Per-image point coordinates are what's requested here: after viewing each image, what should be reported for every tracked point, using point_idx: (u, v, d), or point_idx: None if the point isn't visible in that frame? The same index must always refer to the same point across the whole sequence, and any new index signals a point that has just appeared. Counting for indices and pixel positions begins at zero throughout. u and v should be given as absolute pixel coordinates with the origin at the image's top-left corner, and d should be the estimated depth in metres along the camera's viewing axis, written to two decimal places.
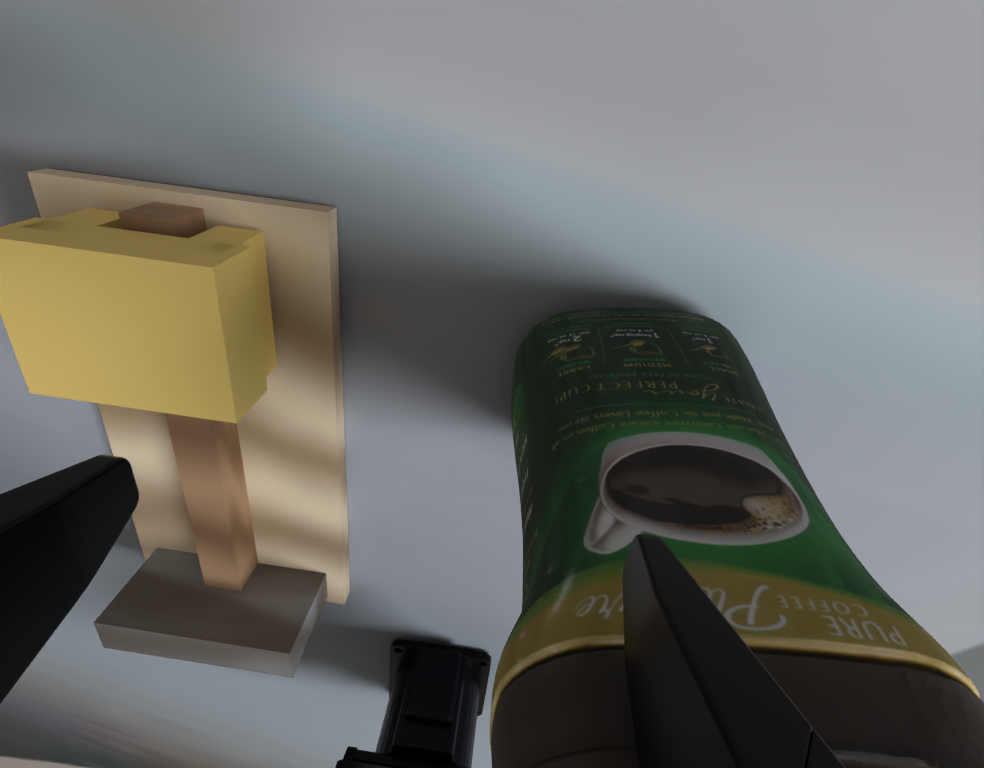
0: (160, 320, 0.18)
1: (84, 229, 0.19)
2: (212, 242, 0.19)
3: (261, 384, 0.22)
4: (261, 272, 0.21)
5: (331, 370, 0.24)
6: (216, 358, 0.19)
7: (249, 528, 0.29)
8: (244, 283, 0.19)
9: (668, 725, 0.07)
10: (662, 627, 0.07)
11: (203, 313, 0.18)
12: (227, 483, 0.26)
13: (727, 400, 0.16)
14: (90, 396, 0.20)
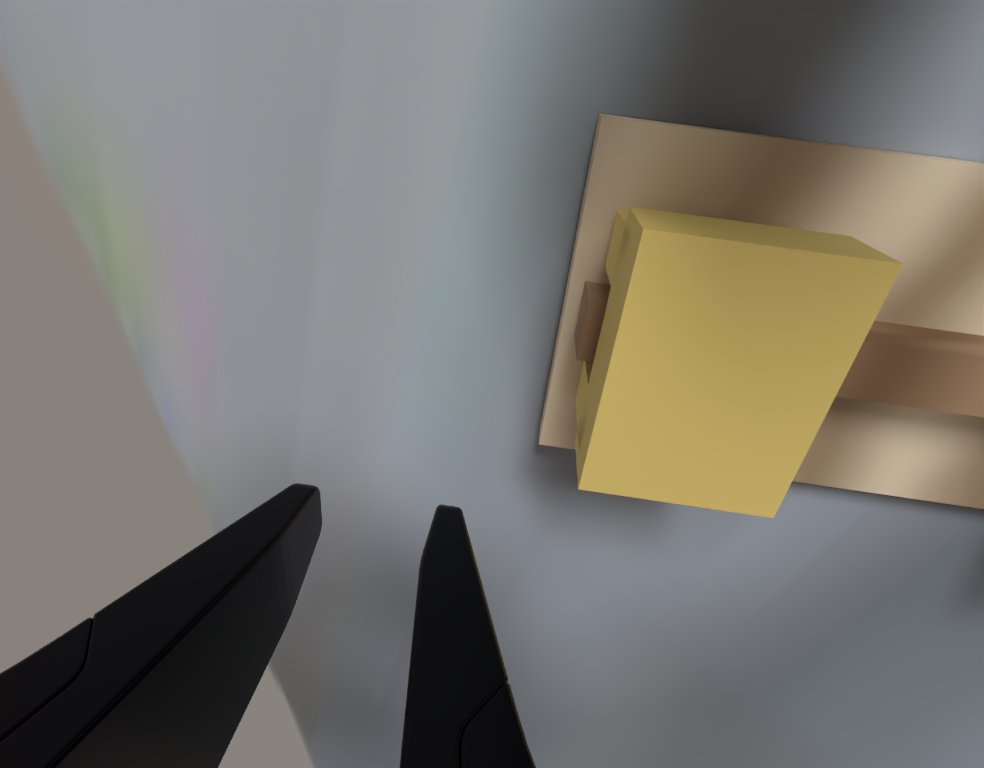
0: (707, 326, 0.14)
1: (589, 394, 0.17)
2: (618, 256, 0.15)
3: (839, 237, 0.14)
4: None
5: (841, 151, 0.16)
6: (780, 264, 0.13)
7: None
8: (676, 218, 0.14)
9: None
10: None
11: (706, 262, 0.13)
12: None
13: None
14: (796, 453, 0.15)
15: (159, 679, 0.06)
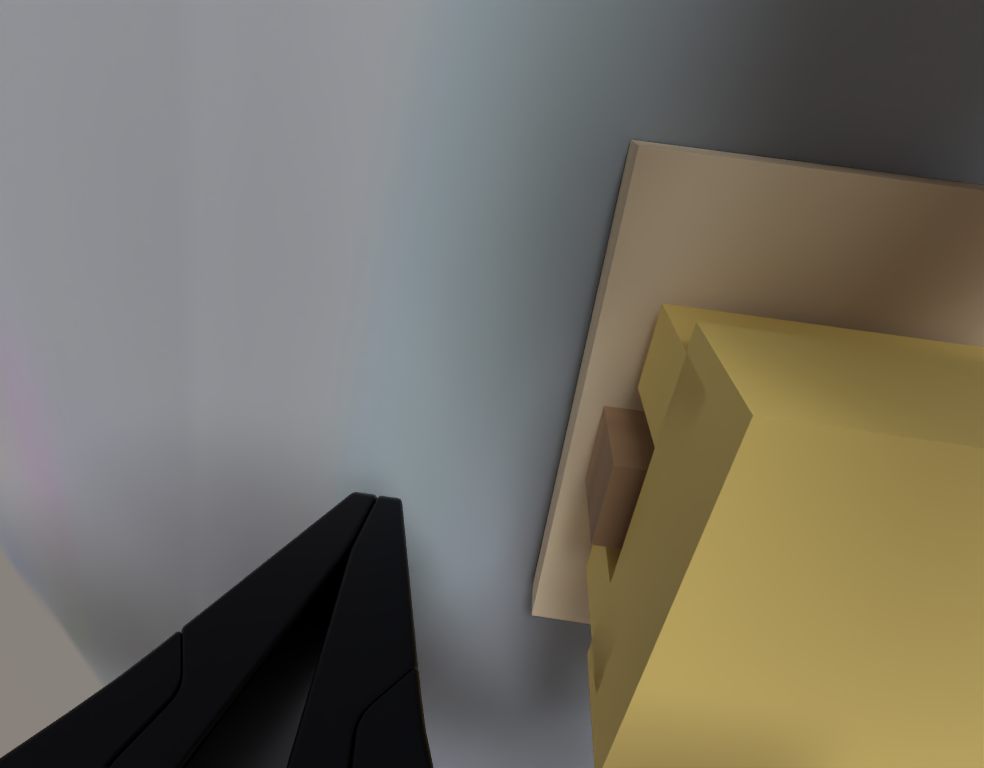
0: (866, 585, 0.07)
1: (612, 609, 0.10)
2: (672, 403, 0.08)
3: None
4: (753, 325, 0.09)
5: None
6: None
7: None
8: (794, 355, 0.07)
9: None
10: None
11: (886, 480, 0.06)
12: None
13: None
14: None
15: (252, 694, 0.06)
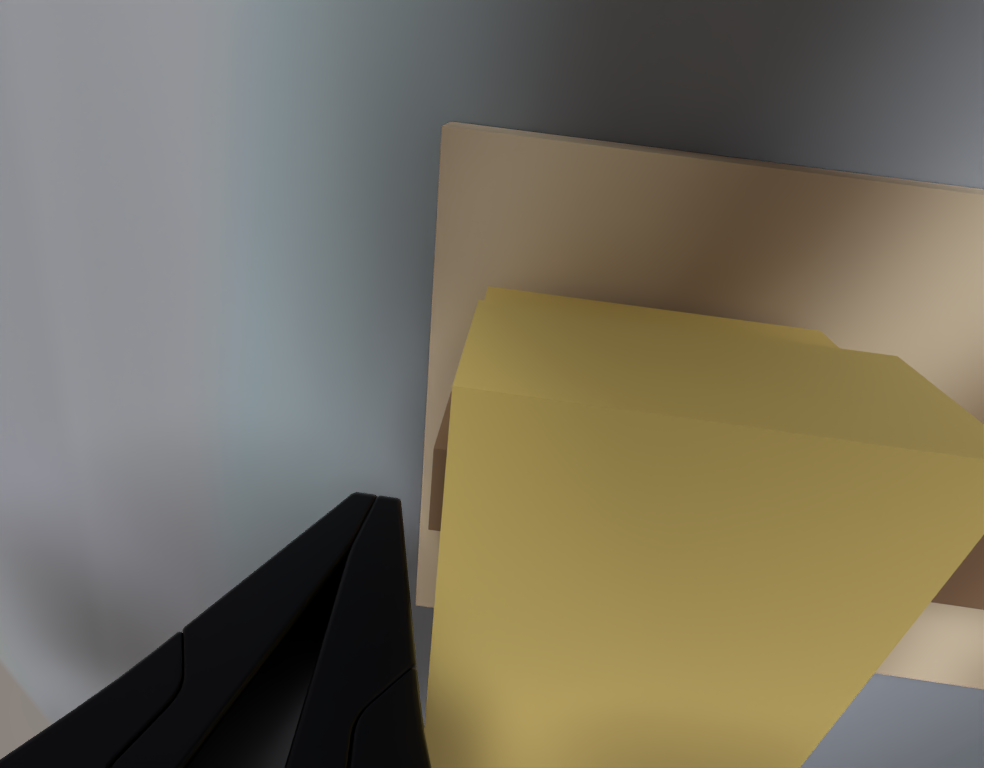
0: (613, 560, 0.07)
1: None
2: None
3: (878, 364, 0.07)
4: (571, 307, 0.09)
5: (870, 190, 0.09)
6: (759, 459, 0.06)
7: None
8: (556, 331, 0.07)
9: None
10: None
11: (599, 451, 0.06)
12: None
13: None
14: (796, 748, 0.08)
15: (253, 694, 0.06)
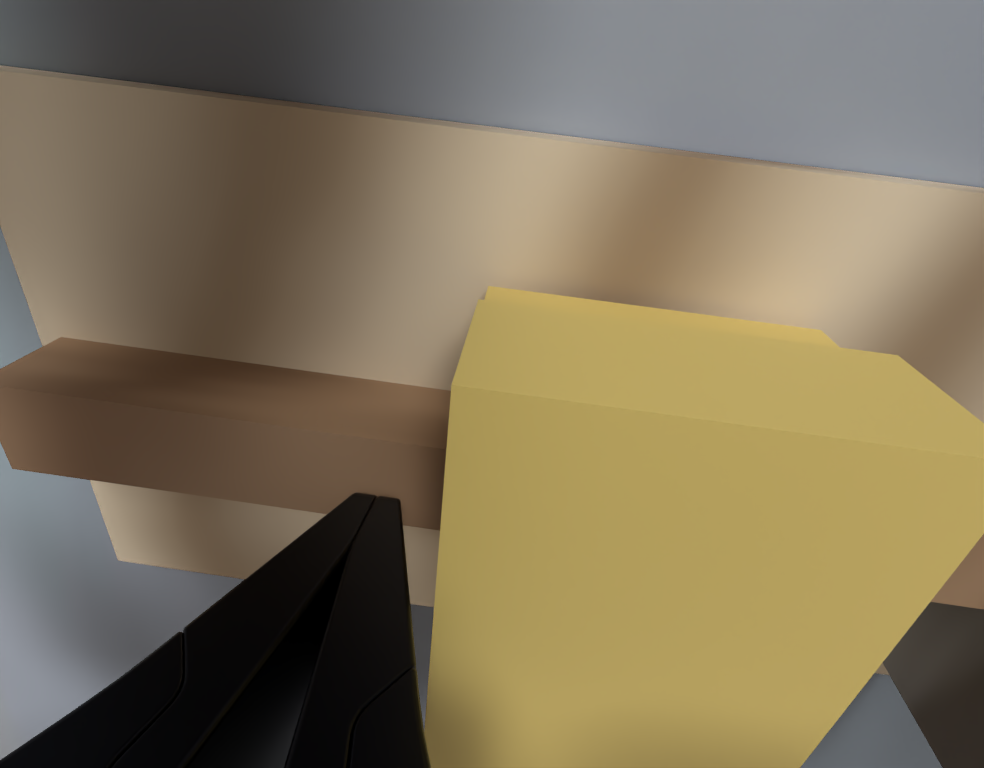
0: (612, 559, 0.07)
1: None
2: None
3: (878, 363, 0.07)
4: (571, 306, 0.09)
5: (354, 124, 0.09)
6: (758, 458, 0.06)
7: None
8: (556, 330, 0.07)
9: None
10: None
11: (598, 451, 0.06)
12: None
13: None
14: (796, 748, 0.08)
15: (254, 694, 0.06)
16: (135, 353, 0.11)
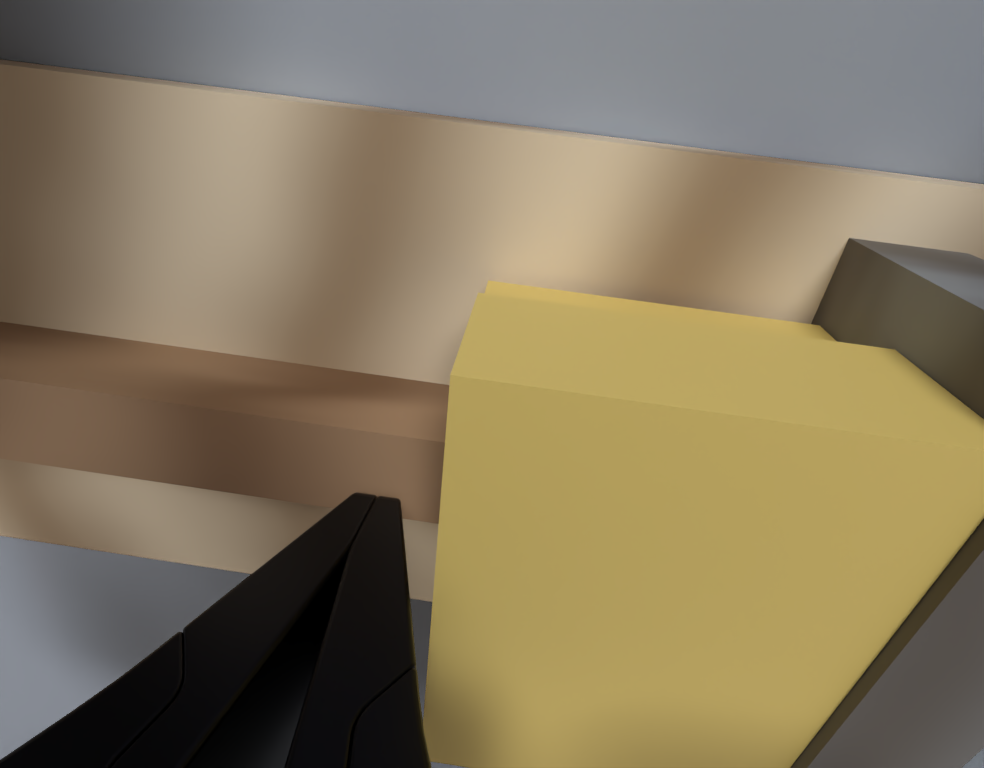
0: (610, 550, 0.07)
1: None
2: None
3: (875, 357, 0.07)
4: (571, 301, 0.09)
5: (66, 82, 0.09)
6: (754, 449, 0.06)
7: None
8: (555, 323, 0.07)
9: None
10: None
11: (595, 441, 0.06)
12: (402, 420, 0.10)
13: None
14: (792, 740, 0.08)
15: (254, 694, 0.06)
16: None
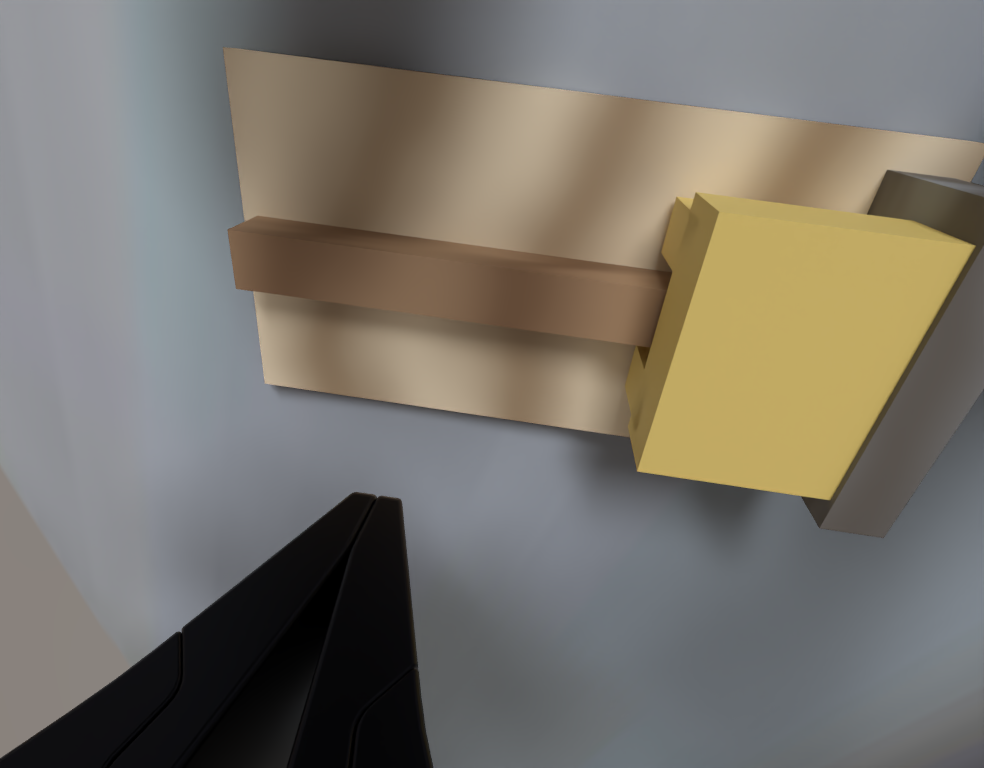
0: (776, 308, 0.14)
1: (646, 378, 0.17)
2: (682, 240, 0.15)
3: (904, 222, 0.14)
4: None
5: (448, 81, 0.16)
6: (853, 246, 0.13)
7: None
8: (744, 202, 0.14)
9: None
10: None
11: (780, 244, 0.13)
12: (622, 279, 0.17)
13: None
14: (857, 435, 0.15)
15: (252, 694, 0.06)
16: (304, 224, 0.19)
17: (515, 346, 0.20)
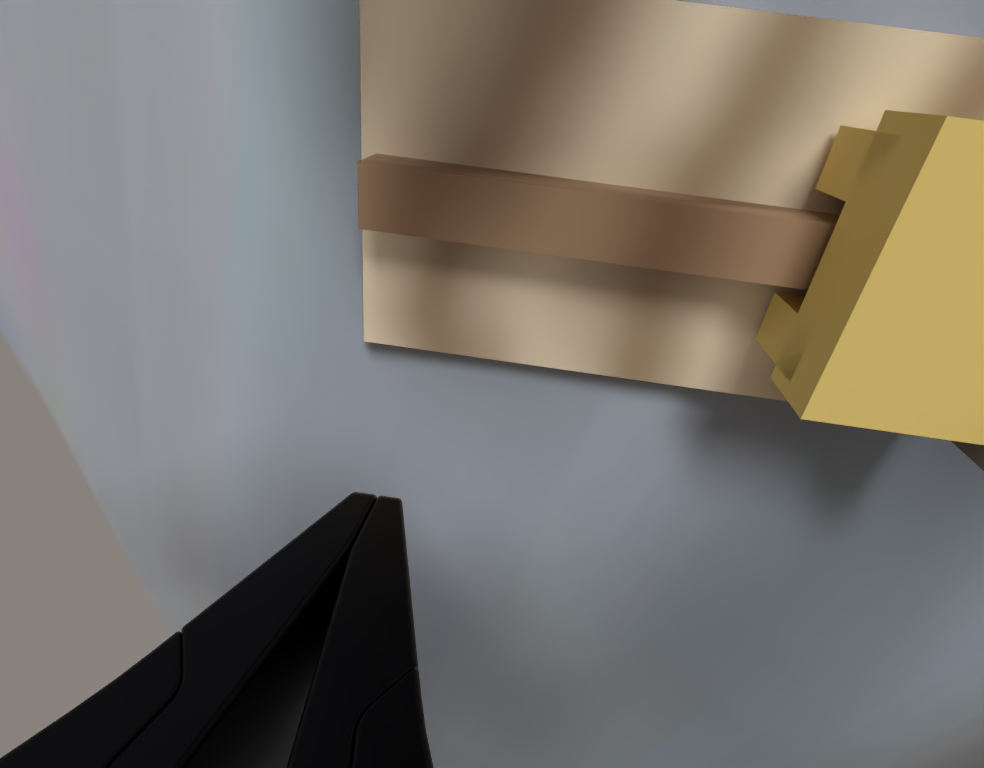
0: None
1: (804, 321, 0.16)
2: (864, 165, 0.14)
3: None
4: None
5: None
6: None
7: None
8: None
9: None
10: None
11: None
12: (781, 214, 0.16)
13: None
14: None
15: (252, 694, 0.06)
16: (429, 161, 0.17)
17: (640, 297, 0.19)
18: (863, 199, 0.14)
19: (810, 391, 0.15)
